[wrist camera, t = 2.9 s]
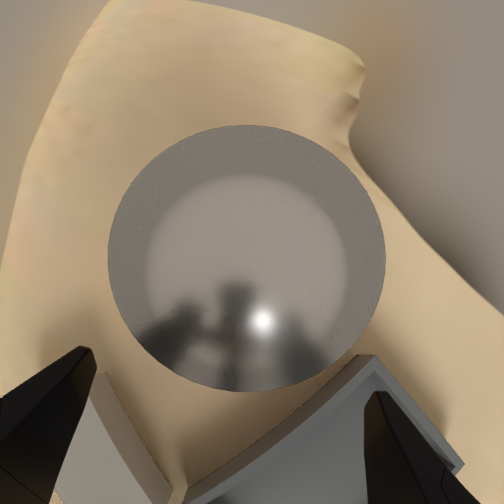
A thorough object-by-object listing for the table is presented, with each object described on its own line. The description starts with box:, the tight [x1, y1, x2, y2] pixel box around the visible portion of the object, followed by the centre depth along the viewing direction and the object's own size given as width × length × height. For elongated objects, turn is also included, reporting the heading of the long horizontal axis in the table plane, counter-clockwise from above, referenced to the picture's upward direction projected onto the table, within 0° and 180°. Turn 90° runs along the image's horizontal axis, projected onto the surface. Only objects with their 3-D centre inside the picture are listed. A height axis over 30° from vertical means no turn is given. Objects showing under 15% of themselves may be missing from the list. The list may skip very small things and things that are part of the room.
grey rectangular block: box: [54, 373, 173, 504], centre depth 15 cm, size 6×9×4 cm, turn 29°
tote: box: [182, 355, 465, 504], centre depth 15 cm, size 14×11×3 cm
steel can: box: [108, 125, 386, 392], centre depth 13 cm, size 7×7×13 cm
